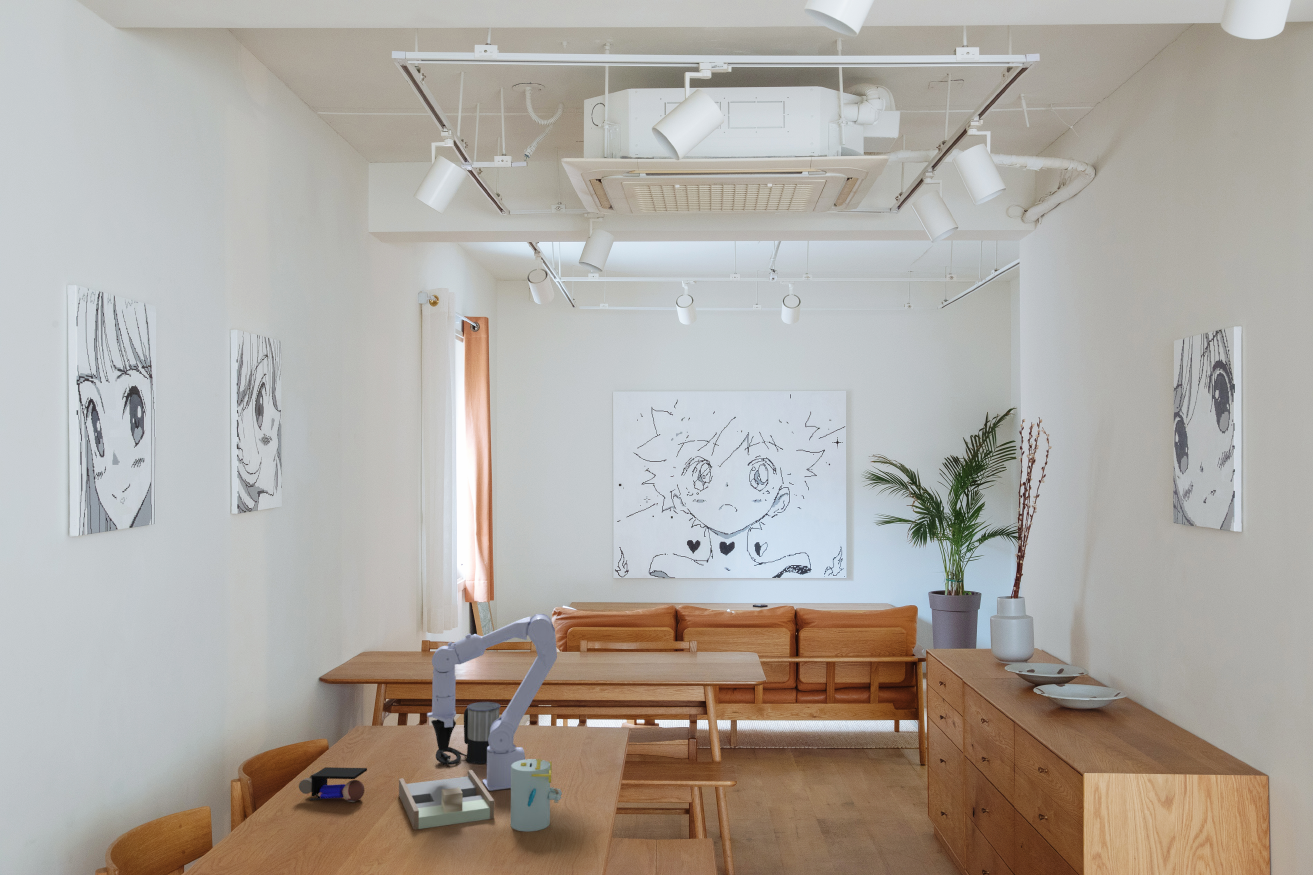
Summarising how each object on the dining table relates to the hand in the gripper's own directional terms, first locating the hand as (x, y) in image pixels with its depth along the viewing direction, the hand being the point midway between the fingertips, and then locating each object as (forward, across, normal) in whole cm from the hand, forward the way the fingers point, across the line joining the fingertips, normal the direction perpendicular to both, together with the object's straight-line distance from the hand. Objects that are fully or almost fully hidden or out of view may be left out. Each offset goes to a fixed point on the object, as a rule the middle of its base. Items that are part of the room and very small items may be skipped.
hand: (443, 749), depth 233 cm
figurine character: (+10, -1, -26) cm, 28 cm away
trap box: (+9, +14, -2) cm, 17 cm away
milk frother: (+10, -19, +10) cm, 23 cm away
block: (+7, +23, -2) cm, 24 cm away
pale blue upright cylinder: (+10, +33, +15) cm, 37 cm away
